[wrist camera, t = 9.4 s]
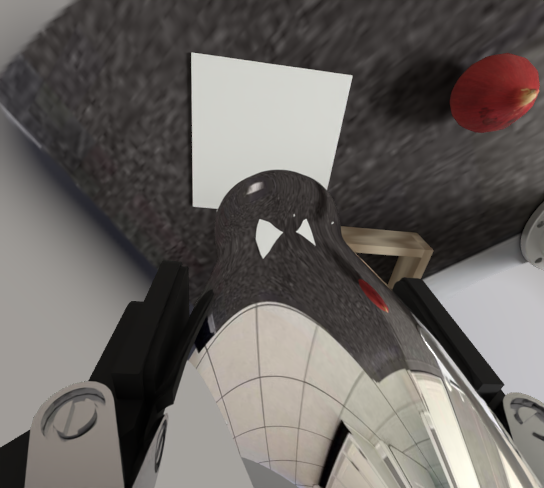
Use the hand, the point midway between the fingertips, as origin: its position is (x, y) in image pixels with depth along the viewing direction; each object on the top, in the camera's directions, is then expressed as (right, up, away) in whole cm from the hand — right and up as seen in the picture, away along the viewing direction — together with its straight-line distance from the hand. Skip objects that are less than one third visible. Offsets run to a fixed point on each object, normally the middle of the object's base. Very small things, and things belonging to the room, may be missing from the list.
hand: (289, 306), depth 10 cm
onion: (+17, +16, +18) cm, 30 cm away
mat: (-1, +12, +20) cm, 23 cm away
